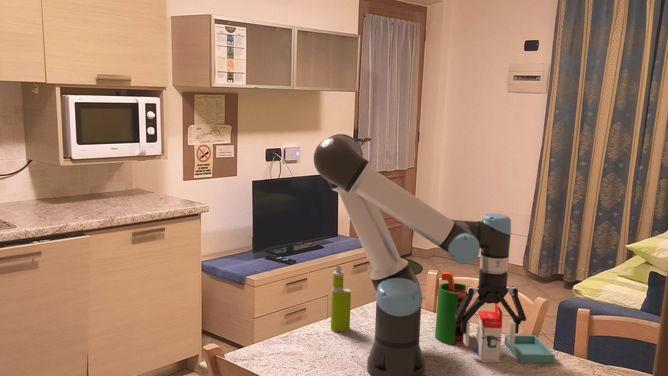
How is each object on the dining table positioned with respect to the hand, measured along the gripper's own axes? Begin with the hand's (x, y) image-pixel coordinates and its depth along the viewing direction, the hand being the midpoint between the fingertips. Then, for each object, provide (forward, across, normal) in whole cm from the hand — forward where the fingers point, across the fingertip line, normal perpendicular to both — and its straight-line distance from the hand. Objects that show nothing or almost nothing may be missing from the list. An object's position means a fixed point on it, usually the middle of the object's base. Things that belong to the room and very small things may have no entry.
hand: (488, 344), depth 162 cm
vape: (+4, -41, +18) cm, 45 cm away
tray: (+4, +12, +2) cm, 13 cm away
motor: (+4, -8, +12) cm, 15 cm away
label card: (+4, +2, +12) cm, 13 cm away
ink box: (+4, 0, 0) cm, 4 cm away
